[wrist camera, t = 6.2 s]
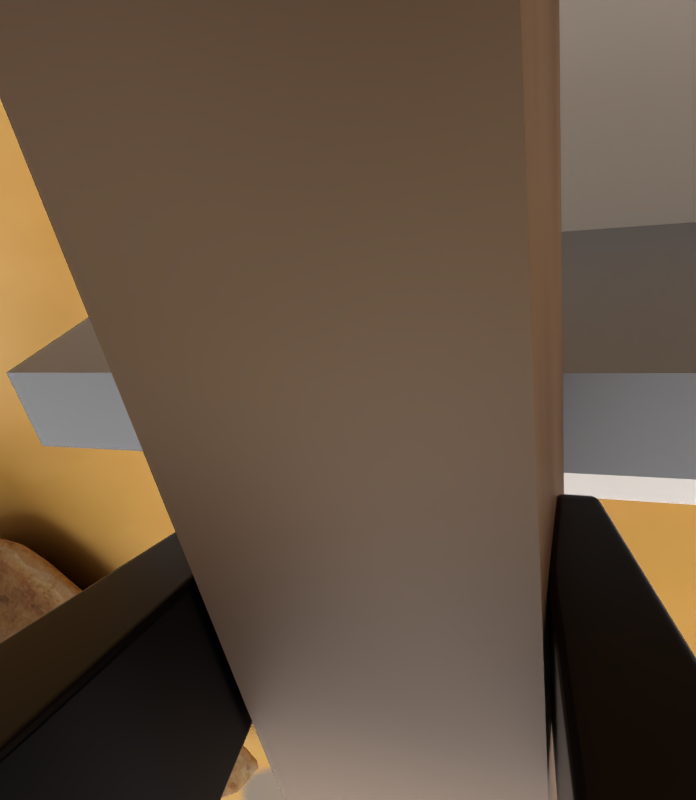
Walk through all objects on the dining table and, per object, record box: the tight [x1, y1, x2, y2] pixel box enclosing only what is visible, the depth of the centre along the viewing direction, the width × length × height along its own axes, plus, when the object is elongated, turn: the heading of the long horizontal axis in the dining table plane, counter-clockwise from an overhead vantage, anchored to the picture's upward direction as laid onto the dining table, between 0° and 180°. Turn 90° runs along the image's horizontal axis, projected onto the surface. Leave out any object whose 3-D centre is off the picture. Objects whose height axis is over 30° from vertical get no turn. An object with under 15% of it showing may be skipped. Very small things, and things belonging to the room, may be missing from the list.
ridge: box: [7, 0, 696, 505], centre depth 12 cm, size 22×12×7 cm, turn 100°
